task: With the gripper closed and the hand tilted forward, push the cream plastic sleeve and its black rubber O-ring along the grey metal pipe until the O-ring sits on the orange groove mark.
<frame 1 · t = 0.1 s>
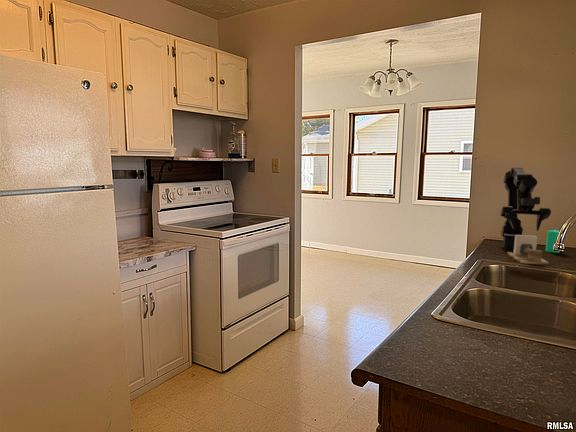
hand: (525, 229, 173), 15 cm above the worktop, tool tilted 35°, fingers open, 9 cm apart
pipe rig: (526, 259, 182), on the worktop
sleeve: (525, 245, 184), point 6 cm above the worktop, slide at -3.5 cm
candle: (552, 251, 199), on the worktop
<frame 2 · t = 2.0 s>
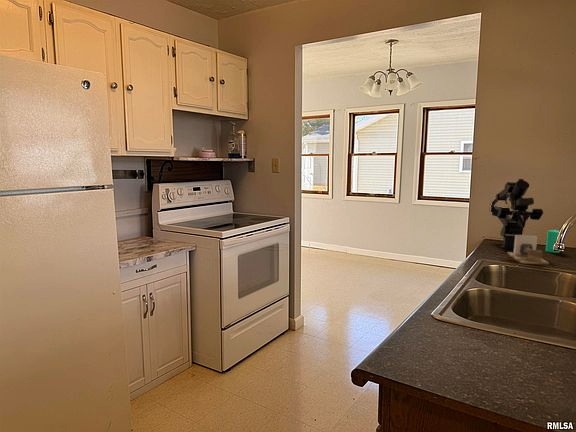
hand: (523, 227, 187), 14 cm above the worktop, tool tilted 45°, fingers closed
nothing on the worktop moved.
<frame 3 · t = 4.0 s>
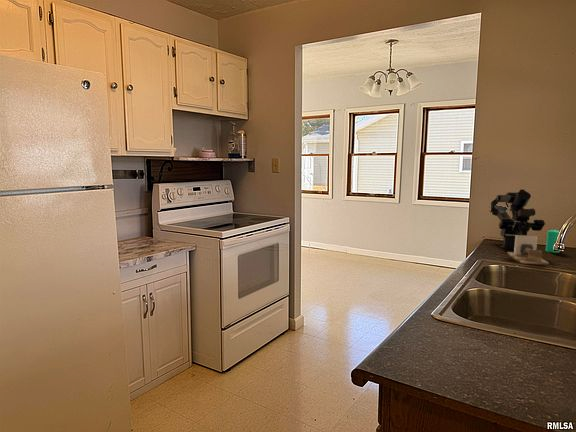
hand: (524, 238, 185), 9 cm above the worktop, tool tilted 45°, fingers closed, pressing on sleeve
sleeve: (525, 245, 184), point 6 cm above the worktop, slide at -3.1 cm, touching gripper
everything else where it was.
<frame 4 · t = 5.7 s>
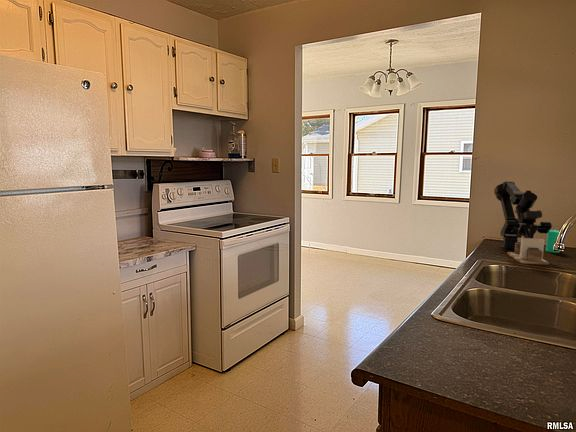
hand: (531, 241, 178), 9 cm above the worktop, tool tilted 45°, fingers closed, pressing on sleeve
sleeve: (532, 248, 177), point 6 cm above the worktop, slide at 4.2 cm, touching gripper
everything else where it was.
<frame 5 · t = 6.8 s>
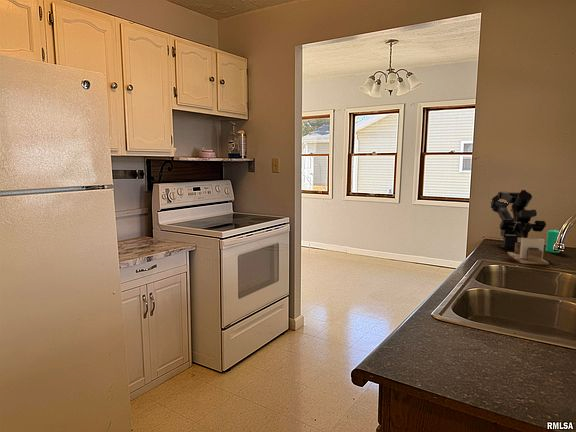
hand: (525, 239, 184), 8 cm above the worktop, tool tilted 45°, fingers closed
sleeve: (532, 248, 177), point 6 cm above the worktop, slide at 4.2 cm
everything else where it was.
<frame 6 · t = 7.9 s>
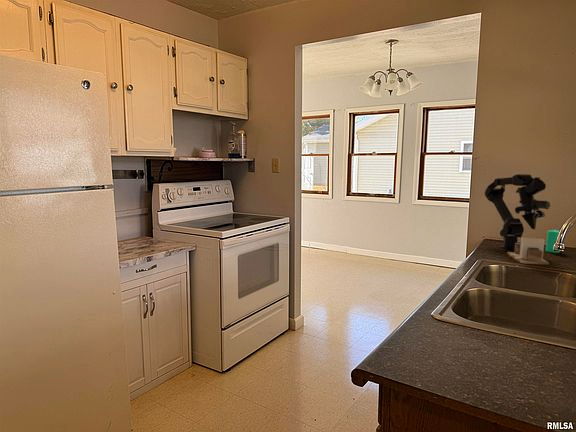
hand: (533, 229, 186), 13 cm above the worktop, tool tilted 25°, fingers closed
nothing on the worktop moved.
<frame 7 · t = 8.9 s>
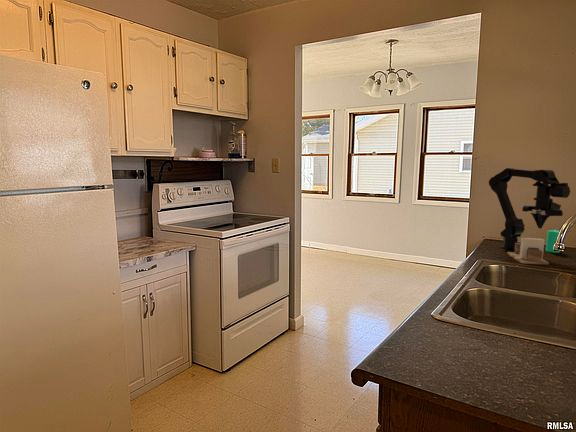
hand: (539, 228, 189), 13 cm above the worktop, tool pointing down, fingers closed
nothing on the worktop moved.
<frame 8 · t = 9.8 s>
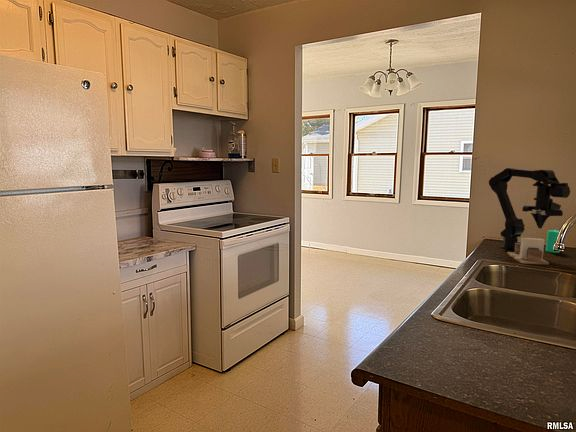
hand: (539, 228, 189), 13 cm above the worktop, tool pointing down, fingers closed
nothing on the worktop moved.
at the end: sleeve slide at 4.2 cm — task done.
